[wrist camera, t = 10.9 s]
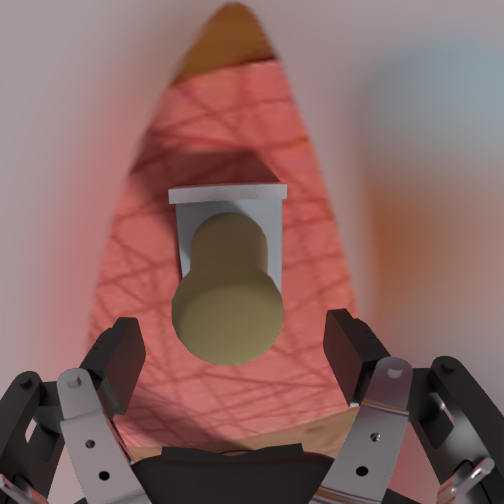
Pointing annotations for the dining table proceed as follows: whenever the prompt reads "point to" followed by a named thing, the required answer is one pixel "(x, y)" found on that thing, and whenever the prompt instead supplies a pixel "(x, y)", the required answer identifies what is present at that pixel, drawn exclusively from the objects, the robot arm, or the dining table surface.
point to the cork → (228, 293)
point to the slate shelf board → (258, 210)
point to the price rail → (227, 192)
